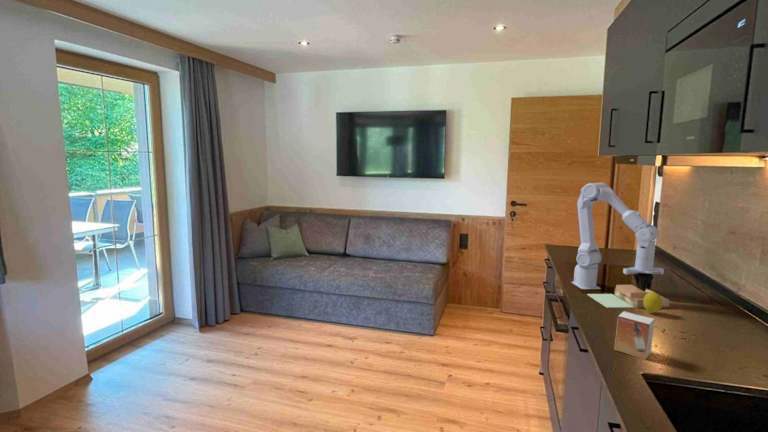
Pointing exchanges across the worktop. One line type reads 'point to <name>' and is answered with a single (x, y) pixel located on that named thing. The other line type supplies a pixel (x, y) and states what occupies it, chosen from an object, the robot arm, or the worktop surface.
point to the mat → (610, 301)
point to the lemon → (652, 302)
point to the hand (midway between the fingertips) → (641, 292)
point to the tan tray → (640, 299)
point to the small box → (634, 335)
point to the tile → (631, 291)
